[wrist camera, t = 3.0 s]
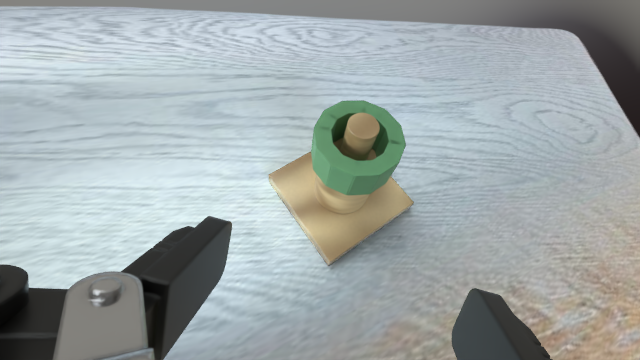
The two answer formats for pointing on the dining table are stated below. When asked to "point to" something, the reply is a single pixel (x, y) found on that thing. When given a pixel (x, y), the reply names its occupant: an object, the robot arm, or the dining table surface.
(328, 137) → the ring
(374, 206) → the peg stand
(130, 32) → the dining table surface
